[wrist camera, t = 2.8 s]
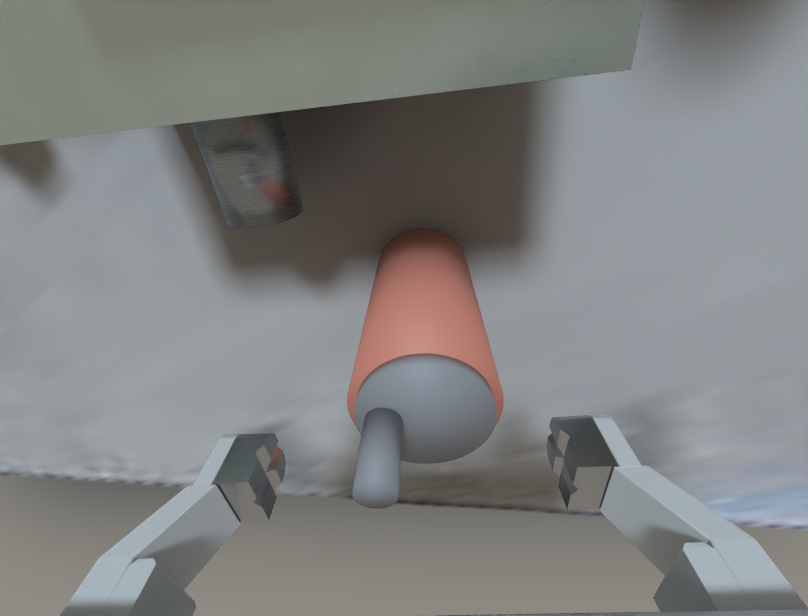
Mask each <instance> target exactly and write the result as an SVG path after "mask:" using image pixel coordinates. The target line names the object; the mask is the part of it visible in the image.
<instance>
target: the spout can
mask: <svg viewBox="0 0 808 616" xmlns="http://www.w3.org/2000/svg"><path fill="white" fill-rule="evenodd" d="M347 405H348V411H349V413H350V416H351V418H352V420H353V422H354V424H355V425H356V426H357V429H358V431H359V432H360V434H361V441H360V447H359V453H358V459H357V465H356V471H355V477H354V483H353V489H352V497H353V498H354V500H355V501H356V502H358V503H359V504H361V505H363V506H366V507H369V508H386V507H389V506H392V505H393V504H395V503H396V502H397V500H398V498H399V481H400V461H401V460H402V461H406V462H412V463H440V462H446V461H450V460H454V459H457V458H460V457H463V456H465V455H467V454H469V453H471V452H472V451H474V450H476V449H477V448H478V447H480V446H481V445H482V444H483V443H484V442H485V441H486V440H487V439H488V437H489V436H490V435H491V433H492V431H493V429H494V427H495V425H496V424H497V422H498V420H499V419H500V416H501V413H502V410H503V393H502V388H501V385H500V381H499V378H498V374H497V370H496V367H495V363H494V359H493V356H492V352H491V349H490V345H489V341H488V338H487V334H486V331H485V327H484V323H483V320H482V316H481V312H480V309H479V305H478V302H477V298H476V294H475V291H474V287H473V283H472V280H471V276H470V273H469V269H468V265H467V262H466V258H465V256H464V253H463V251H462V249H461V248H460V246H459V245H458V244H457V243H456V242H455V241H454V240H453V239H452V238H450V237H449V236H447V235H446V234H444V233H441V232H439V231H436V230H431V229H415V230H410V231H407V232H404V233H402V234H400V235H398V236H397V237H395V238H394V239H393V240H391V241H390V242H389V243H388V244H387V246H386V247H385V248H384V250H383V252H382V254H381V256H380V259H379V263H378V267H377V271H376V275H375V280H374V284H373V288H372V292H371V297H370V301H369V305H368V309H367V314H366V318H365V322H364V326H363V331H362V335H361V339H360V343H359V348H358V352H357V356H356V360H355V365H354V369H353V373H352V377H351V382H350V386H349V390H348V395H347Z"/></svg>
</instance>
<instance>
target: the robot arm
mask: <svg viewBox="0 0 808 616" xmlns="http://www.w3.org/2000/svg"><path fill="white" fill-rule="evenodd" d="M549 427H550V429H551V432H552V434H551V435H550V436H548V440H547V452H548V458H549V461H550V465H551V467H552V470H553V472H555V473H556V474H557V475H558V476H559V477H560V480H559V485H558V486H559V489H560V492H561V494H562V497H563V499H564V502H565V505H566V507H567V509H600V511H601V512H602V513H603V514H604V515H605V516H606V517H607V518H608V519H609V520H610V521H611V522H612V523H613V524H614V525H615V526H616V527H617V528H618V529H619V530H620V531H621V532H622V533H623V534H624V535H625V536H626V537H627V538H628V539H629V540H630V541H631V542H632V543H633V544H634V545H635V546H636V547H637V548H638V549H639V550H640V551H641V552H642V553H643V554H644V555H645V556H646V557H647V558H648V559H649V560H650V561H651V562H652V563H653V564H654V565H655V566H656V567H657V568H658V569H659V570H660V571H661V572H662V573H663V574H664V575H665V578H664V579H663V581H662V583H661V585H660V586H659V588H658V590H657V592H656V593H655V596H654V600H655V602H656V604H657V606H658V608H659V611H660V612H632V613H631V612H624V613H565V614H564V613H563V614H503V615H502V614H501V615H444V616H808V607H807V606H806V605H805V604H804V602H803V601H802V600H801V598H800V597H799V596H798V594H797V593H796V592H795V590H794V589H793V588H792V587H791V586H790V584H789V583H788V581H787V580H786V579H785V578H784V576H783V575H782V574H781V572H780V571H779V570H778V568H777V567H776V566H775V564H774V563H773V562H772V561H771V559H770V558H769V557H768V555H767V554H766V553H765V551H764V550H763V549H762V548H761V546H760V545H759V544H758V542H757V541H756V540H755V539H754V538H752V537H751V536H749V535H748V534H747V533H745V532H744V531H742V530H741V529H739V528H738V527H736V526H735V525H734V524H732V523H731V522H729V521H728V520H726V519H725V518H723V517H722V516H720V515H719V514H717V513H716V512H715V511H713V510H712V509H710V508H709V507H707V506H706V505H704V504H703V503H701V502H700V501H699V500H697V499H696V498H694V497H693V496H691V495H690V494H688V493H687V492H685V491H684V490H683V489H681V488H680V487H678V486H677V485H675V484H674V483H672V482H671V481H669V480H668V479H666V478H665V477H664V476H662V475H661V474H659V473H658V472H656V471H655V470H653V469H652V468H650V467H649V466H642V465H641V464H640V462H639V460H638V459H637V457H636V456H635V454H634V452H633V451H632V449H631V448H630V446H629V444H628V443H627V441H626V440H625V438H624V436H623V435H622V433H621V432H620V430H619V428H618V427H617V425H616V424H615V422H614V420H613V419H612V417H610V416H609V415H608V414H606V415H589V416H587V415H583V416H568V417H553V418H552V419H551V421H550V426H549ZM277 443H278V439H277V437H276V435H275V433H263V434H233V435H223V436H222V437H221V438H220V439H219V440H218V442H217V444H216V445H215V447H214V449H213V451H212V452H211V454H210V456H209V458H208V460H207V461H206V463H205V465H204V467H203V468H202V470H201V472H200V474H199V475H198V477H197V479H196V481H195V483H194V484H193V485H192V486H187V487H186V488H185V489H183V490H182V491H181V492H180V493H179V494H177V495H176V496H175V497H174V498H172V499H171V500H170V501H169V502H168V503H166V504H165V505H164V506H162V507H161V508H160V509H159V510H158V511H157V512H155V513H154V514H153V515H151V516H150V517H149V518H148V519H147V520H145V521H144V522H143V523H142V524H141V525H139V526H138V527H137V528H135V529H134V530H133V531H132V532H130V533H129V534H128V535H127V536H126V537H124V538H123V539H122V540H121V541H120V542H118V543H117V544H116V545H115V546H113V547H112V548H111V549H110V550H108V551H107V552H106V553H105V554H104V555H102V556H101V557H100V558H99V559H98V560H97V562H96V563H95V565H94V566H93V568H92V569H91V571H90V572H89V574H88V575H87V577H86V578H85V579H84V581H83V582H82V584H81V586H80V587H79V588H78V590H77V591H76V593H75V594H74V596H73V597H72V599H71V600H70V602H69V603H68V605H67V606H66V607H65V609H64V610H63V612H62V614H61V615H60V616H193V613H194V611H195V609H196V605H195V602H194V600H193V599H192V598H191V597H190V596H189V595H188V594H187V593H186V592H185V591H184V589H185V588H186V587H187V586H188V584H189V583H190V582H191V581H192V580H193V579H194V578H195V576H196V575H197V574H198V573H199V572H200V571H201V569H202V568H203V567H204V566H205V565H206V564H207V562H208V561H209V560H210V559H211V558H212V557H213V555H214V554H215V553H216V552H217V551H218V550H219V548H220V547H221V546H222V545H223V544H224V543H225V541H226V540H227V539H228V538H229V537H230V536H231V534H232V533H233V532H234V531H235V529H237V527H238V526H239V525H240V522H250V521H266V520H269V519H270V516H271V513H272V510H273V507H274V504H275V501H276V498H277V497H276V494H275V491H274V490H275V489H276V488H277V487H278V486H279V485H280V484H281V483H282V480H283V477H284V474H285V465H286V461H285V455H284V453H283V450H281V449H280V448H278V447H277ZM438 616H439V615H438ZM440 616H443V615H440Z"/></svg>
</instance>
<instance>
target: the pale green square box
mask: <svg viewBox="0 0 808 616" xmlns="http://www.w3.org/2000/svg"><path fill="white" fill-rule="evenodd" d="M643 5H644V0H0V145H8V144H17V143H25V142H33V141H41V140H50V139H58V138H66V137H75V136H83V135H91V134H100V133H108V132H116V131H125V130H133V129H141V128H150V127H158V126H166V125H175V124H183V123H190V124H191V127H192V130H193V132H194V135H195V138H196V140H197V143H198V146H199V148H200V151H201V154H202V157H203V159H204V162H205V165H206V167H207V170H208V173H209V175H210V178H211V181H212V184H213V186H214V189H215V192H216V194H217V197H218V200H219V202H220V205H221V208H222V211H223V213H224V216H225V219H226V221H227V224H228V226H230V227H233V228H254V227H261V226H267V225H272V224H276V223H280V222H283V221H286V220H289V219H291V218H294V217H296V216H298V215H299V214H301V213H302V212H303V210H304V209H303V205H302V201H301V197H300V193H299V189H298V185H297V181H296V177H295V173H294V169H293V165H292V161H291V157H290V153H289V149H288V145H287V141H286V137H285V133H284V129H283V125H282V121H281V117H280V113H279V112H283V111H291V110H300V109H308V108H316V107H325V106H333V105H341V104H350V103H358V102H366V101H375V100H383V99H391V98H399V97H408V96H416V95H424V94H433V93H441V92H449V91H458V90H466V89H474V88H483V87H491V86H499V85H508V84H516V83H524V82H533V81H541V80H549V79H558V78H566V77H574V76H583V75H591V74H599V73H608V72H616V71H624V70H631V68H632V62H633V57H634V52H635V47H636V41H637V36H638V31H639V26H640V20H641V15H642V10H643Z"/></svg>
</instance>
